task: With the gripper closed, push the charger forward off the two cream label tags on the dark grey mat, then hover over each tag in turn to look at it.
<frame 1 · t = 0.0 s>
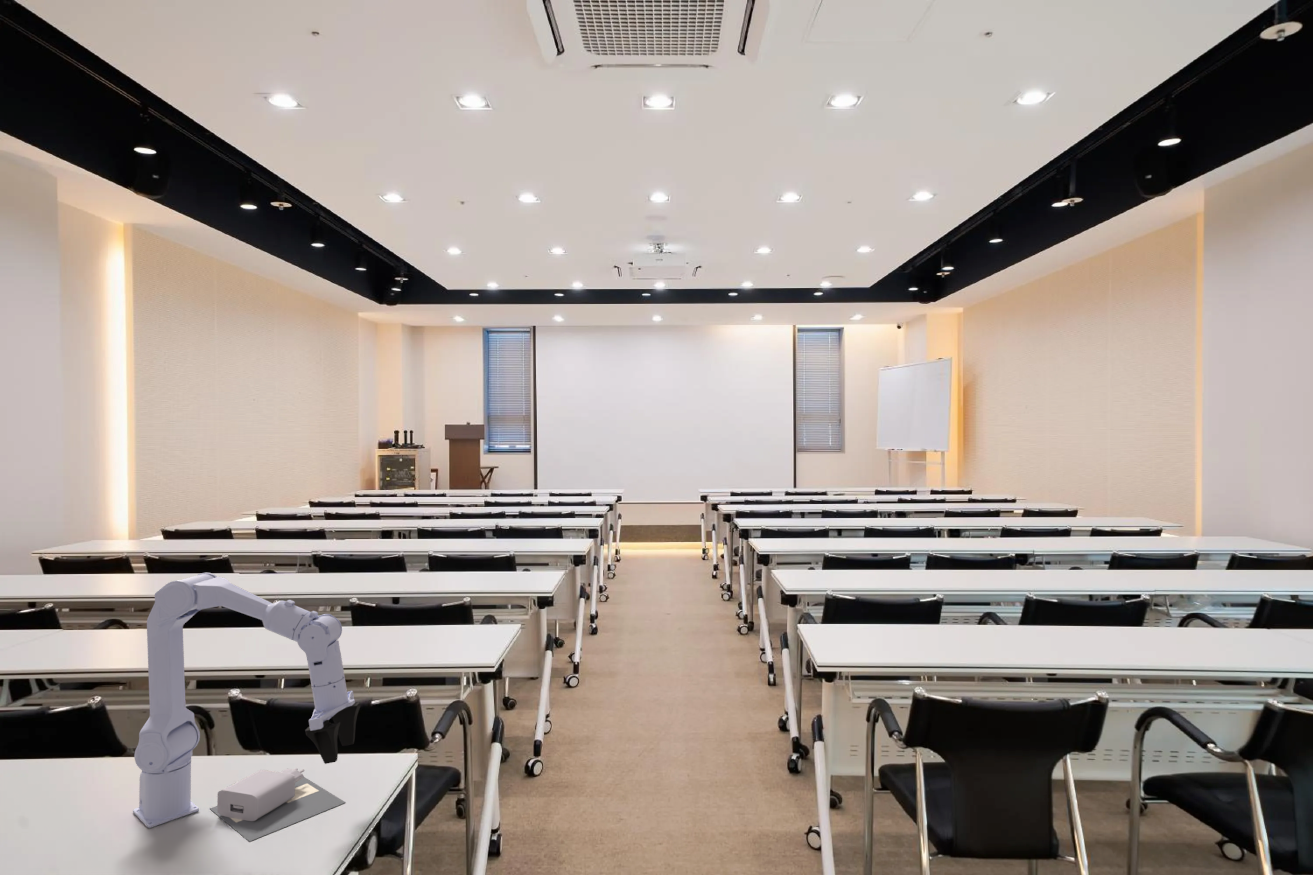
hand: (339, 753, 130), 11 cm above the table, tool pointing down, fingers open, 7 cm apart
charger: (270, 800, 134), on the table, touching label mat
label mat: (278, 805, 132), on the table
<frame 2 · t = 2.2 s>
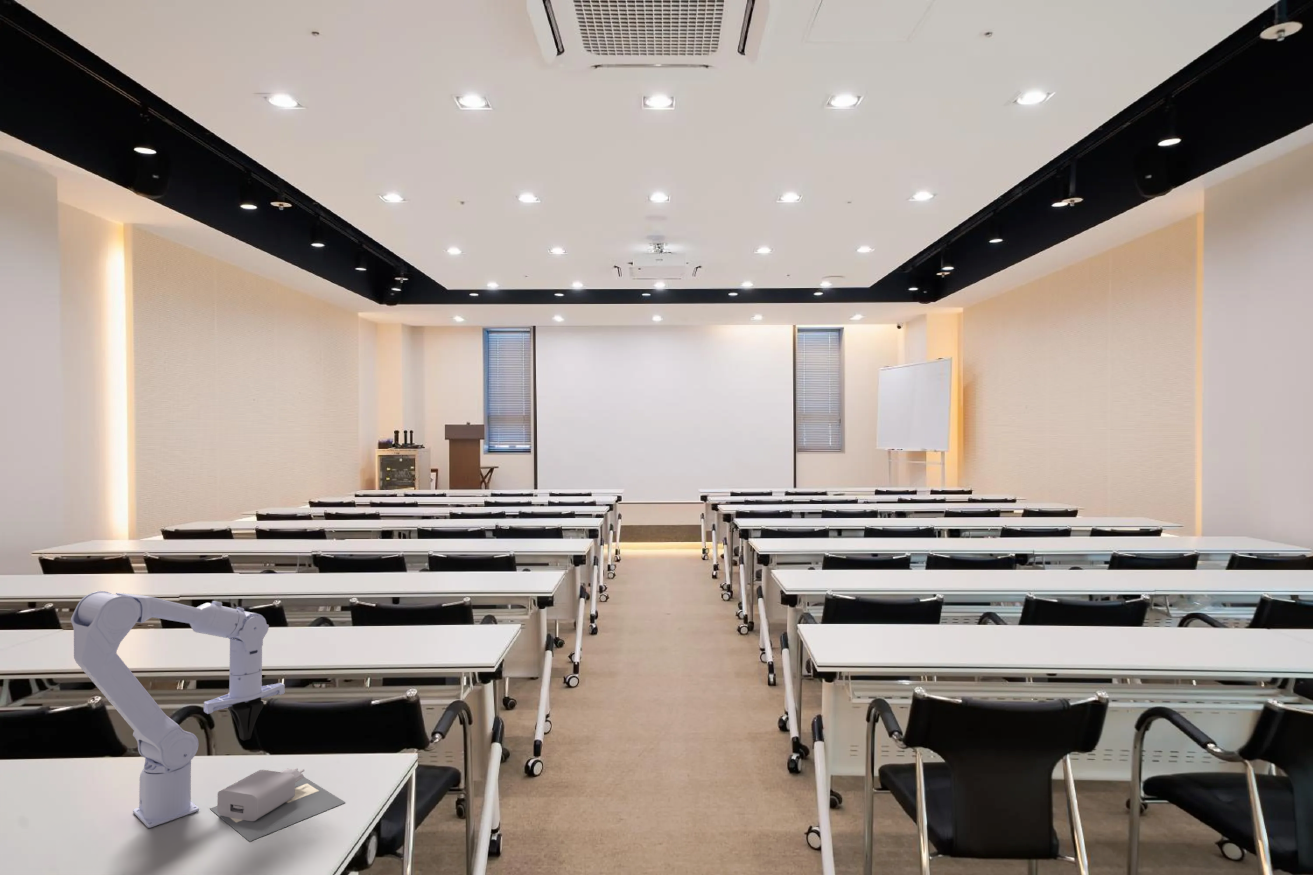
hand: (245, 738, 141), 9 cm above the table, tool pointing down, fingers closed
nothing on the table moved.
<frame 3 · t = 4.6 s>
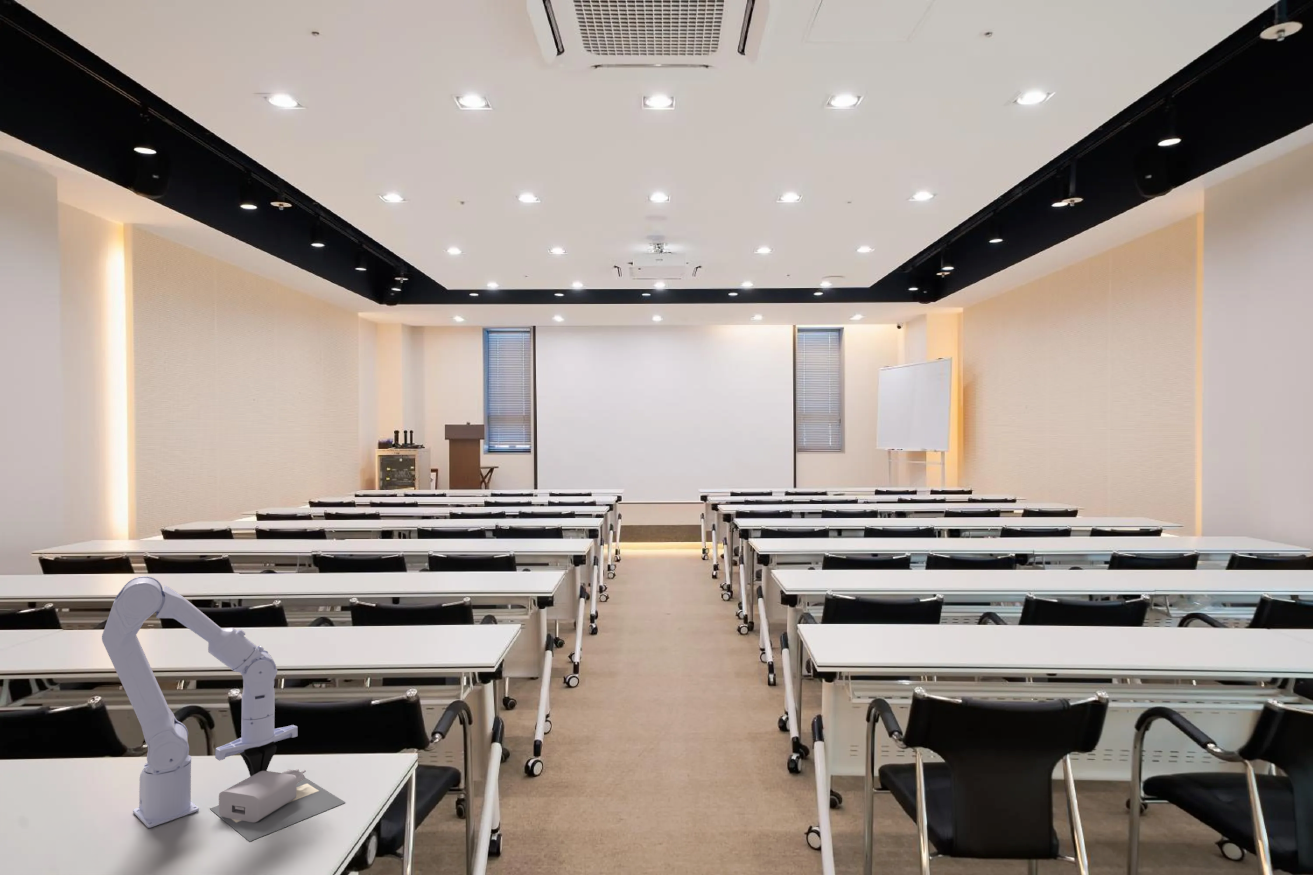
hand: (257, 783, 137), 1 cm above the table, tool pointing down, fingers closed
charger: (271, 801, 133), on the table, touching gripper, label mat
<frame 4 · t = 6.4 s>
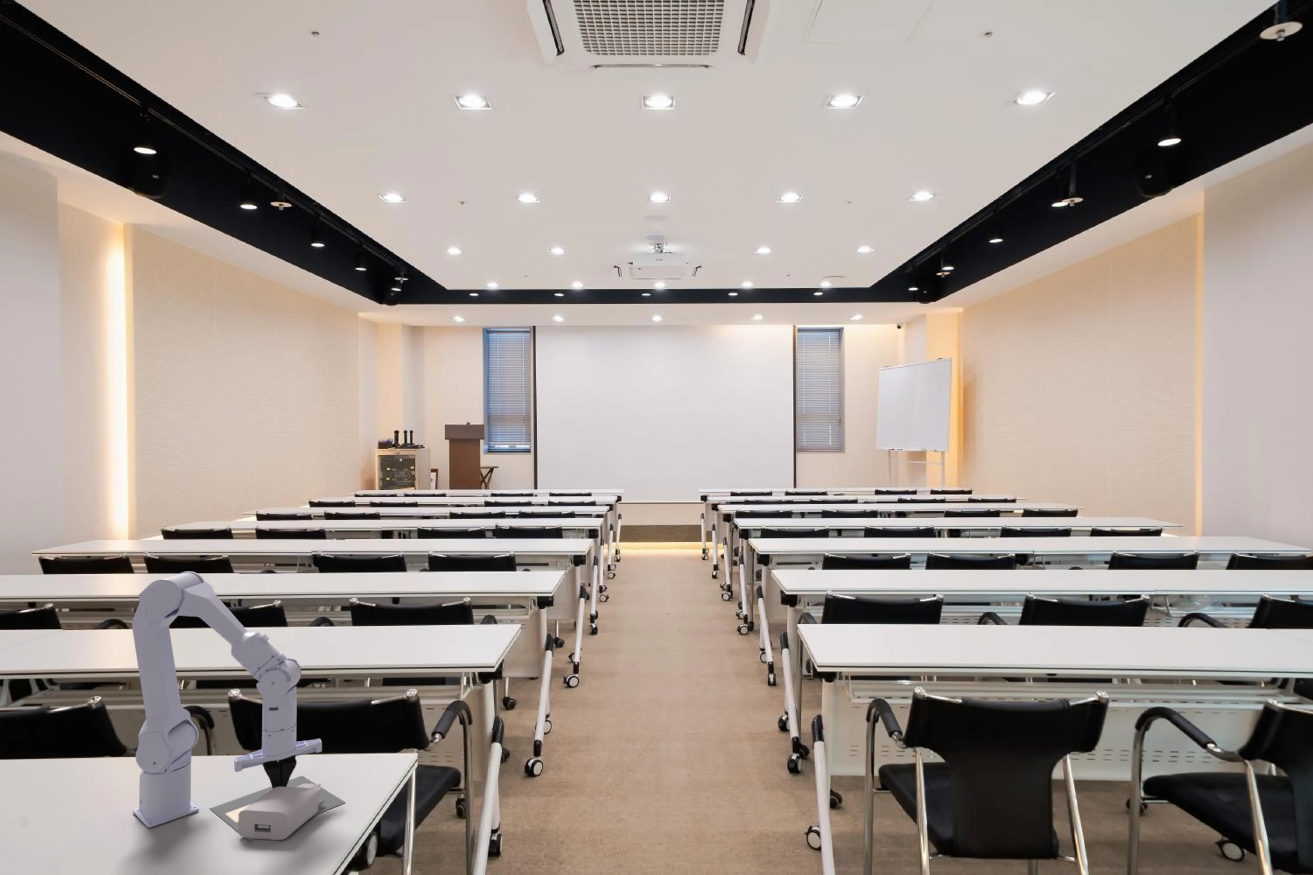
hand: (278, 798, 131), 1 cm above the table, tool pointing down, fingers closed
charger: (290, 817, 127), on the table, touching gripper, label mat
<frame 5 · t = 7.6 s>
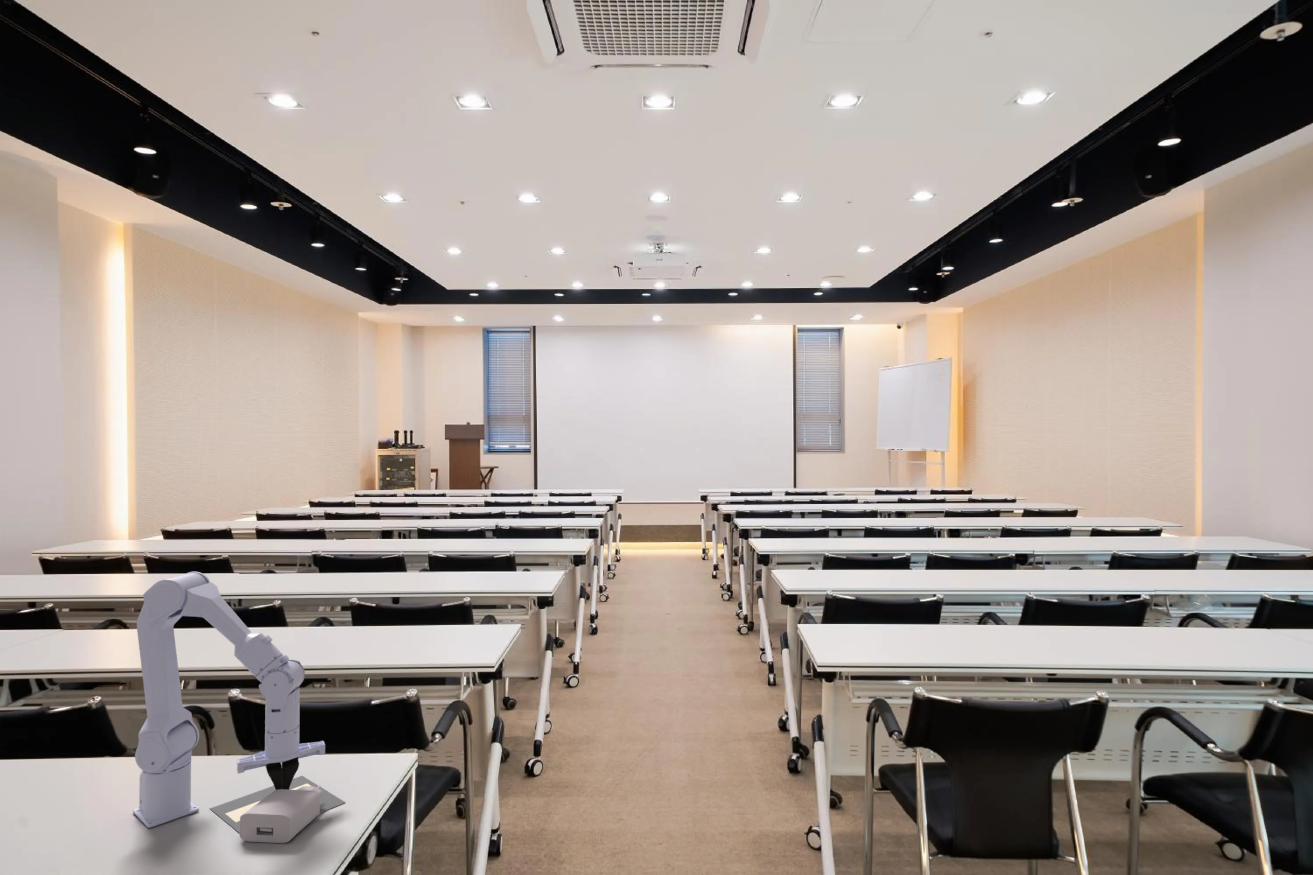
hand: (281, 800, 131), 1 cm above the table, tool pointing down, fingers closed
charger: (291, 820, 126), on the table, touching label mat
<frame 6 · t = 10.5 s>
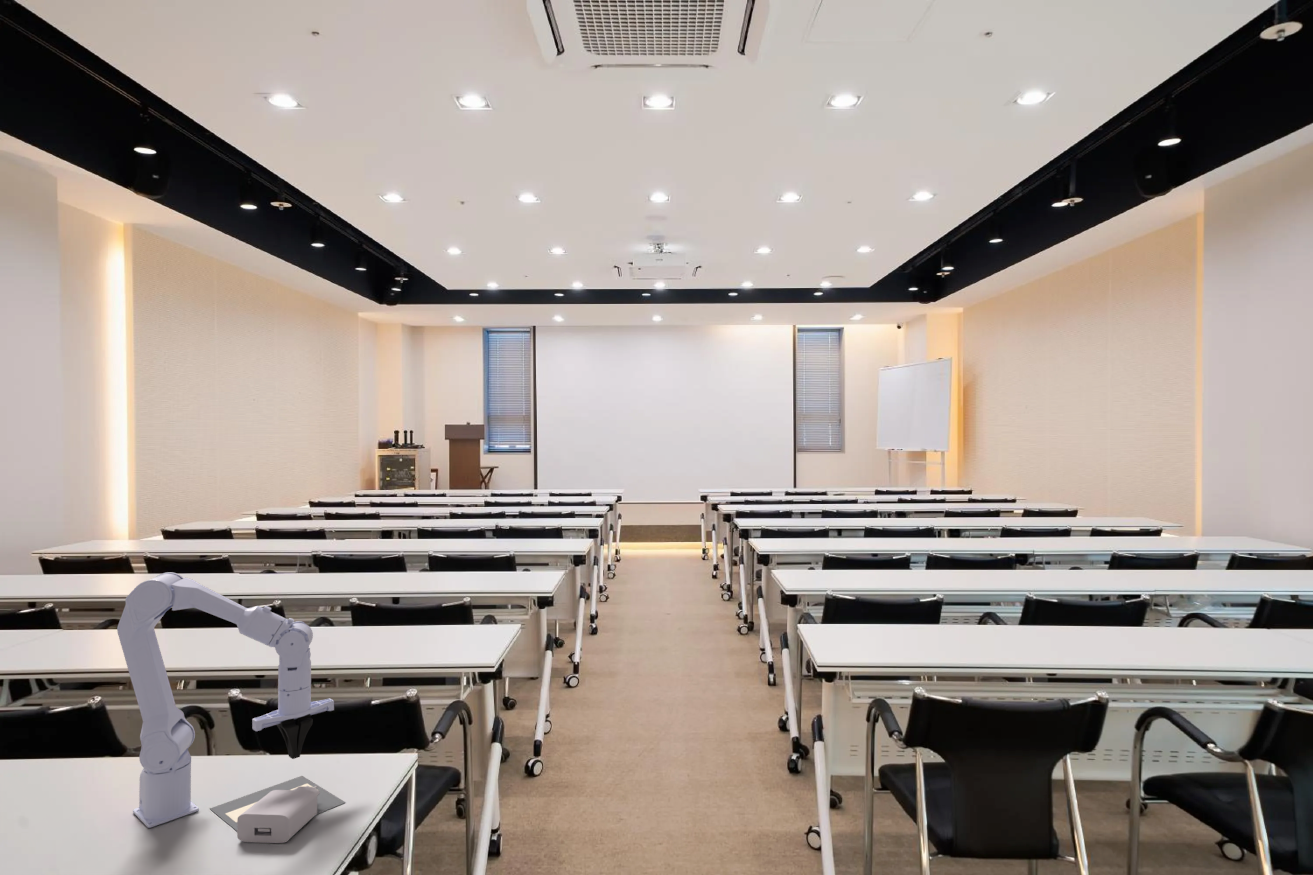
hand: (294, 756, 136), 7 cm above the table, tool pointing down, fingers closed
nothing on the table moved.
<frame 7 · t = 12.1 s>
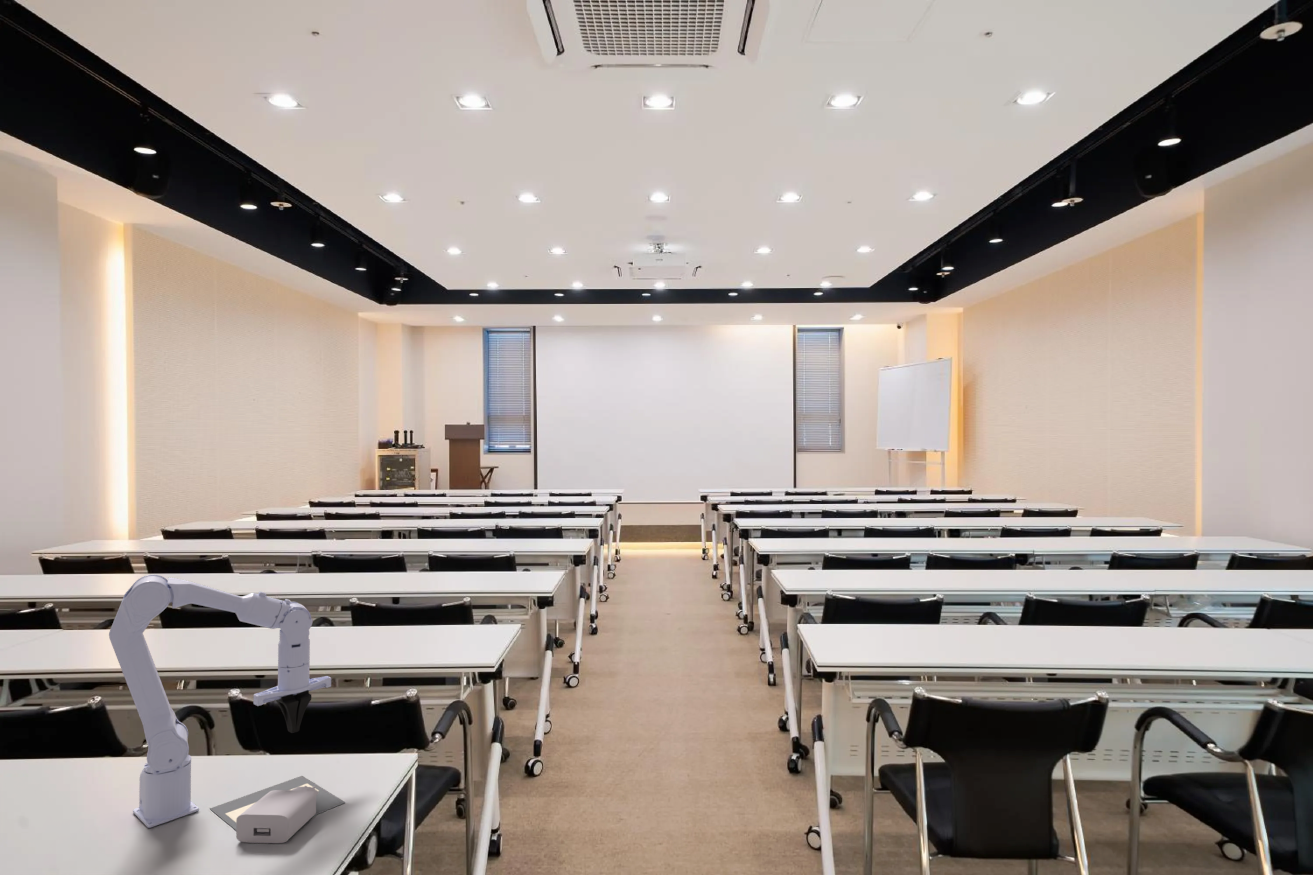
hand: (293, 730, 141), 10 cm above the table, tool pointing down, fingers closed
nothing on the table moved.
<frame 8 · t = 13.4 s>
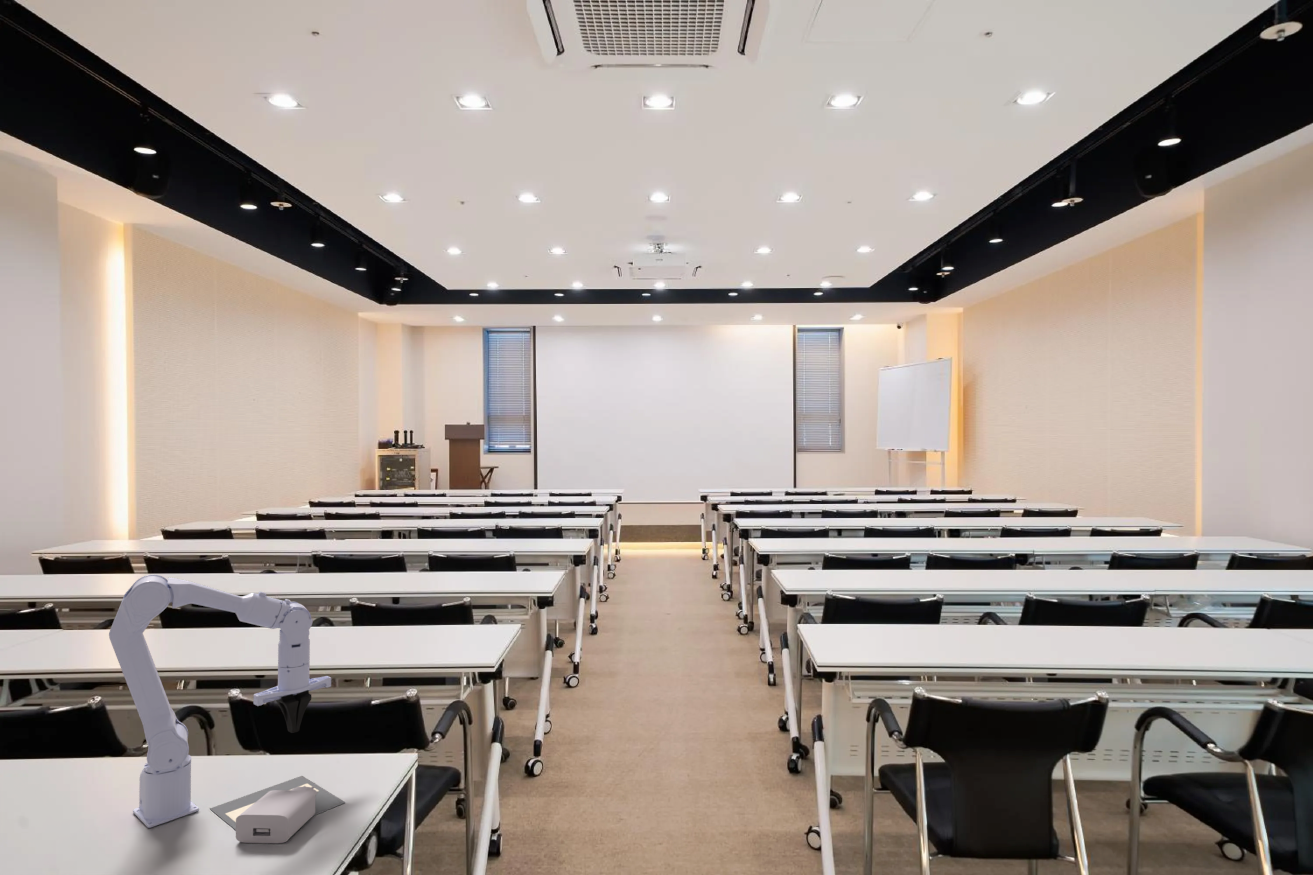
hand: (293, 730, 141), 10 cm above the table, tool pointing down, fingers closed
nothing on the table moved.
at the end: charger inside the target area (3.5 cm from its centre), on the table; charger tilted 0°; charger moved 10.4 cm from its start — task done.
